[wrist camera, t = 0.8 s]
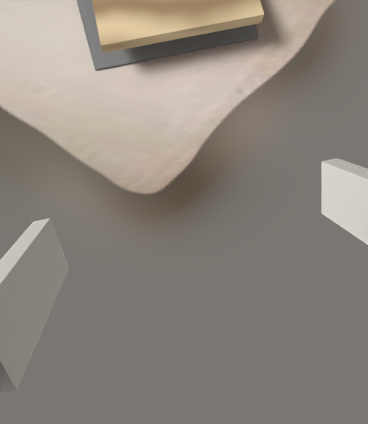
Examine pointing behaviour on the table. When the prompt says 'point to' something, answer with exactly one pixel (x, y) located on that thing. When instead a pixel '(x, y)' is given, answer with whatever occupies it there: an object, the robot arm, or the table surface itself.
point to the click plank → (168, 19)
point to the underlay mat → (155, 49)
